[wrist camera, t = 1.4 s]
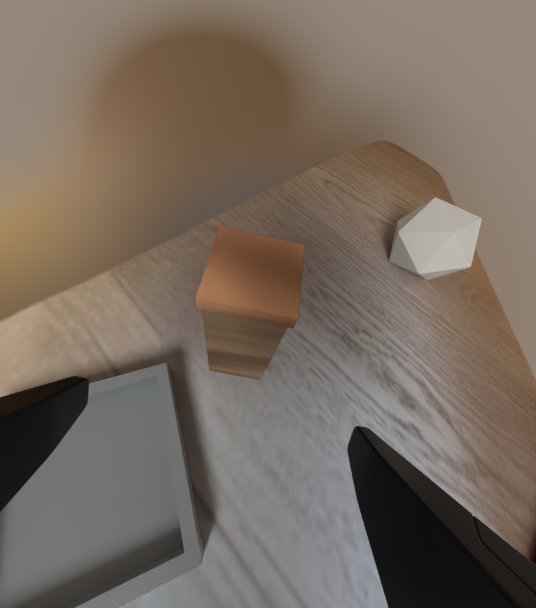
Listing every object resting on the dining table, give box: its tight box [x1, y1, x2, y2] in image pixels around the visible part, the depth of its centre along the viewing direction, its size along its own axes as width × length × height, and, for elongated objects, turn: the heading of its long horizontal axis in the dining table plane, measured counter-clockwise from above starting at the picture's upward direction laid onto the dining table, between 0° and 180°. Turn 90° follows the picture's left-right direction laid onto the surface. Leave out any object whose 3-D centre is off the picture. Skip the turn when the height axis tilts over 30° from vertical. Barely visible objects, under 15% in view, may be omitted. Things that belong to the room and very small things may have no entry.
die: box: [389, 197, 482, 280], centre depth 29 cm, size 8×9×10 cm
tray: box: [0, 363, 204, 608], centre depth 16 cm, size 12×12×2 cm
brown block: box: [195, 226, 304, 379], centre depth 18 cm, size 5×5×12 cm
